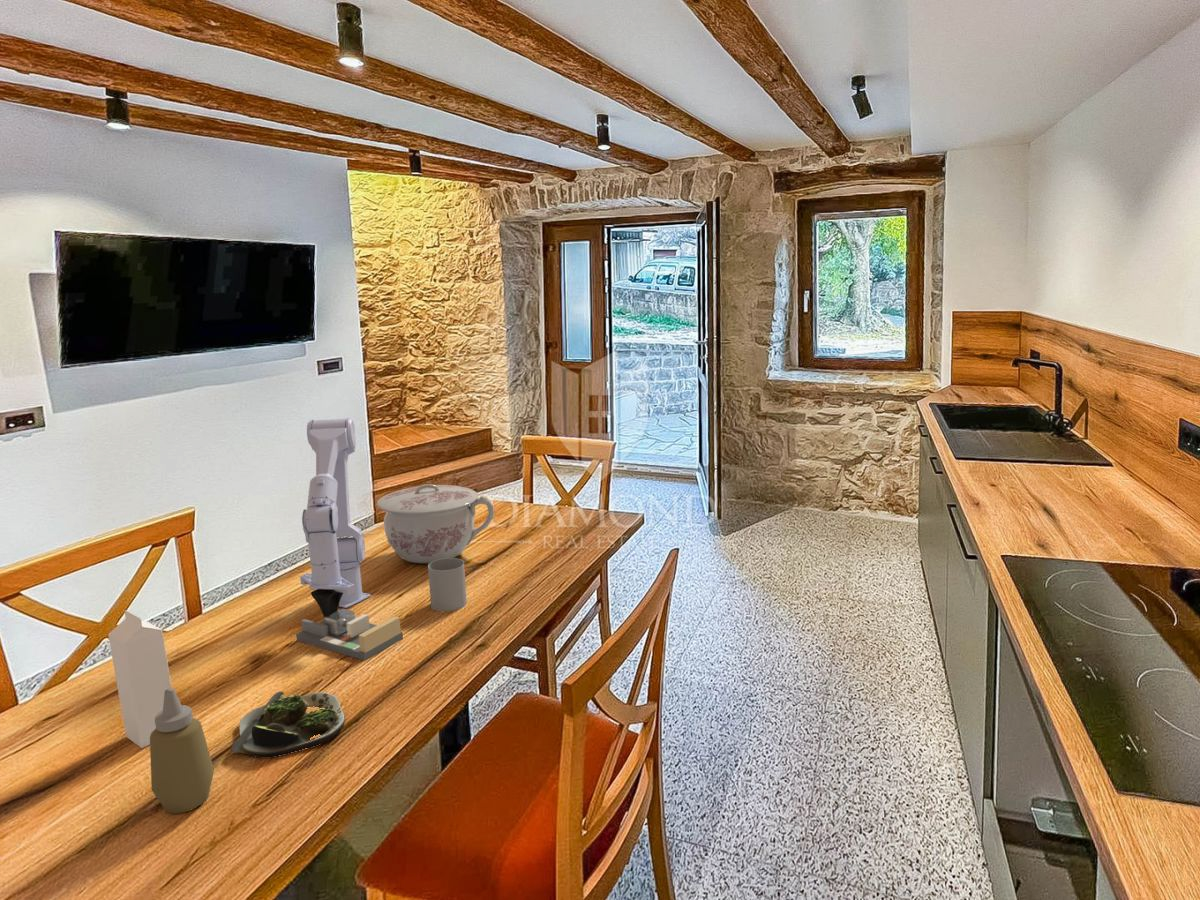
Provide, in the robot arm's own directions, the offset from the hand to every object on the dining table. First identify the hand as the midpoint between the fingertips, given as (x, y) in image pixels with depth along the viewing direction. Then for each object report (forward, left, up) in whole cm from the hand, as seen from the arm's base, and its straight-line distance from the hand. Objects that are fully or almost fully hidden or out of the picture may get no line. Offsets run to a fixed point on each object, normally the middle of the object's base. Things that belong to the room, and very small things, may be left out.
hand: (331, 620), depth 165 cm
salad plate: (+22, -29, -4) cm, 37 cm away
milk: (+2, -41, -4) cm, 41 cm away
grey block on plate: (+4, 0, -2) cm, 5 cm away
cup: (+12, +24, -4) cm, 27 cm away
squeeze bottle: (+24, -49, -4) cm, 55 cm away
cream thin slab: (+8, -1, -1) cm, 8 cm away
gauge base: (+5, 0, -3) cm, 6 cm away
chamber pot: (-14, +48, -4) cm, 50 cm away
